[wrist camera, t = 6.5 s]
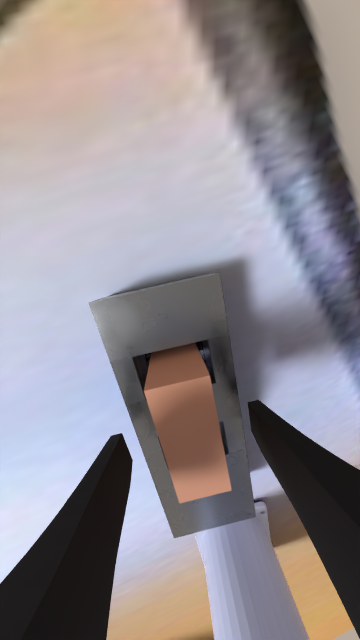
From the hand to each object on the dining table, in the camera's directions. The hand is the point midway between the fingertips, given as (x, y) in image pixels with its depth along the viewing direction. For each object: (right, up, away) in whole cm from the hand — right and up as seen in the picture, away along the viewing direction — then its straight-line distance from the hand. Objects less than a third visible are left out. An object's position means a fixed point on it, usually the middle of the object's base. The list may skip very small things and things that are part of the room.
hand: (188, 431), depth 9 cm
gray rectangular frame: (0, -1, +5) cm, 5 cm away
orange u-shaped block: (0, +1, +4) cm, 5 cm away
